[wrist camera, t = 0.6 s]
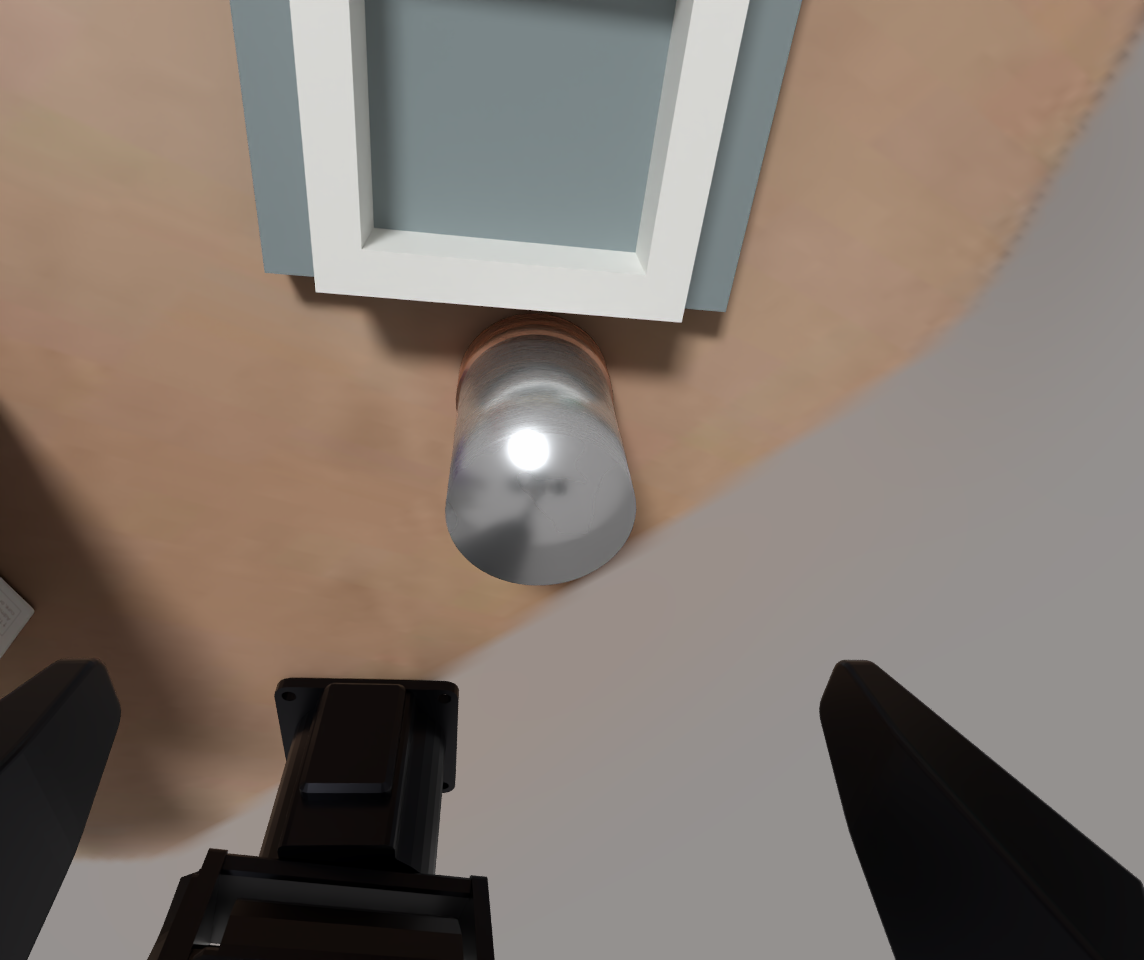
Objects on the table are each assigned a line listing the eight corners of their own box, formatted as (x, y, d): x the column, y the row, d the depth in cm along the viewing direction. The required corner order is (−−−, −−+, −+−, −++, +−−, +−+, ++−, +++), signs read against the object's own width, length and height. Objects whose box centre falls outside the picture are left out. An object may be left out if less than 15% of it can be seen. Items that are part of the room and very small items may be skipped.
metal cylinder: (597, 451, 21) (623, 591, 16) (456, 443, 21) (440, 584, 16) (618, 319, 19) (656, 436, 14) (460, 306, 19) (442, 423, 14)
